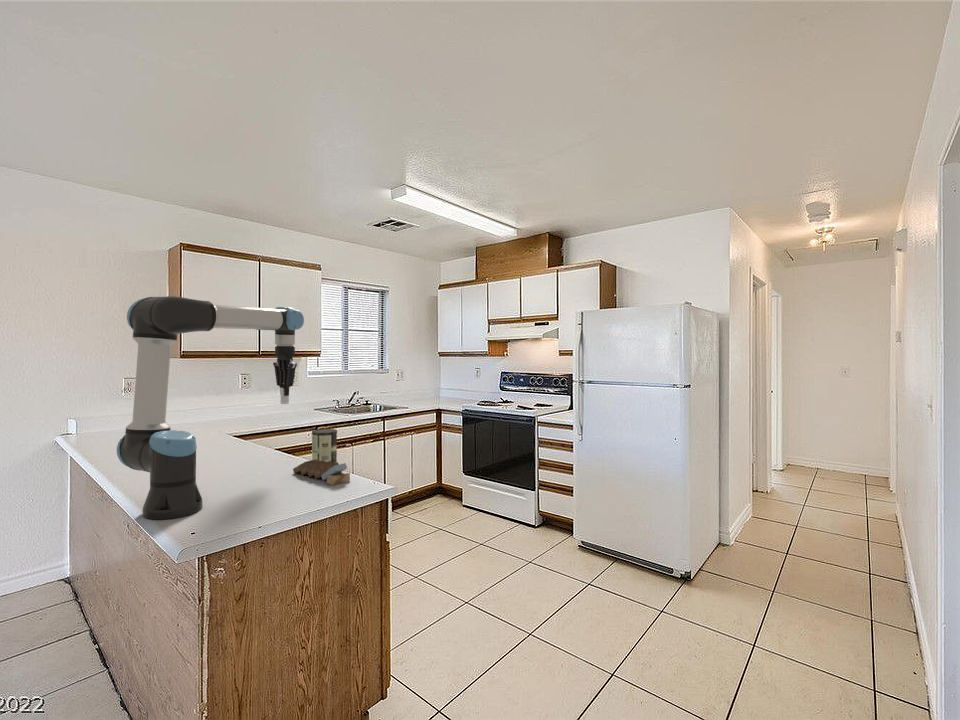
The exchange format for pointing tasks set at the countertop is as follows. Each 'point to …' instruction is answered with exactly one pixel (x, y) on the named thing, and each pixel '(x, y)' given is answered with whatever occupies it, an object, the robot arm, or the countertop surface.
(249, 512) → the countertop surface
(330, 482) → the stop block
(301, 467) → the domino
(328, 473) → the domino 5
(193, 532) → the countertop surface
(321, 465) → the domino
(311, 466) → the domino
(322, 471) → the domino
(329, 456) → the coffee can
